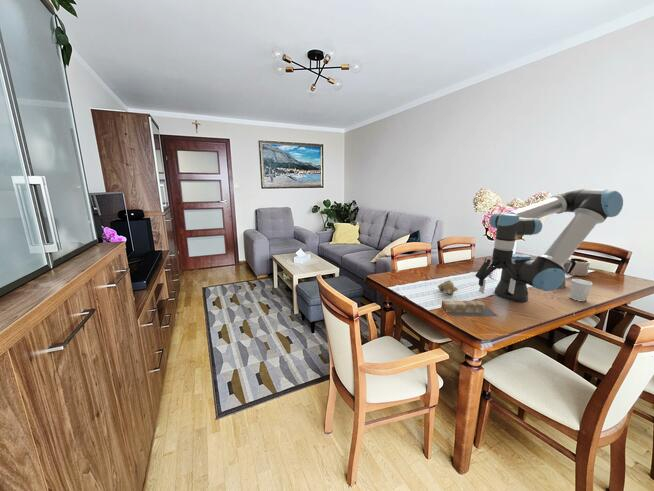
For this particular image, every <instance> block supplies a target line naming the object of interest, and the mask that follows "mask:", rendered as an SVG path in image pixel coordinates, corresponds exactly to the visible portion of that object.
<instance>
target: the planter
mask: <svg viewBox="0 0 654 491" xmlns="http://www.w3.org/2000/svg"><path fill="white" fill-rule="evenodd" d="M568 260H574V261H575V262H576V265H575V266H574V268H573V270H572V271H571V273H569V274H568V275H571V274H574V275H573V276H575V275H578V276H577V277H587V275H588V273H589V269H590V264H591V261H590V260H588V259H584V258H578V257H570V258H569V259H568ZM571 265H572V263H571V264H570V266H569V268H568V270H567V272H568V271H569V269H570V267H571Z"/></svg>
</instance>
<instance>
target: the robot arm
mask: <svg viewBox="0 0 654 491" xmlns="http://www.w3.org/2000/svg"><path fill="white" fill-rule="evenodd" d="M623 207H624V198H623V195H622V194H621V193H620V192H619V191H617V190H612V189H590V188H589V189H587V188H578V189H572V190H568V191H564V192H560V193H557V194H554V195H551V196H550V197H549V198H548V199H546V200H542V201H539V202H537V203H534V204H530V205H527V206H524V207H521V208H518V209H514V210H512V211H510V212H509V211H508V212H506V213H501V212H500V213H498V212H497V213H493V214H492V215H491V216H490V218H489V221H488V223H489V225H490V227H492V228H493V229H496V231H495V238H494V239H495V240H494V244H493V247H494V248H493V250H492V258H488V257H485V258H484V261H483V263H482V265H481V266H480V268H479V269H478V270H477V271H476V272H477V273H476V274H475V278H477V279H478V286H479V291H478V292H479V293H481V294H485V288H486V281H487V280H486V278H487V277H489V276H490V274H491V273H493V272H494V271H496V270H501V271H500V272H501V275H500V280H499V281H498V284H497V285H496V286H495V288H494V292H493V294H494V295H495V296H496V297H498V298H501V299H504V300H507V301H511V302H514V303H515V302H518V303H523V302H527V301H528V299H529V291H528V288H527V287H528V285H529V286H531V287H533V288H535V289H537V290H540V291H544V292H551V291H555V290H556V289H559V286H561V284H562V283H563V282H564V278H565V279H566V273H565V274H564V272H563V271H564V270H565V269H564V264H565V263H566V261H567V260H568V259H569V258H571V256H572V255H573V254H574V253H575V251H576V250H577V249H578V248H579V247H580V245H581V244H582V242H584V240H585V239H586V238H587V236H588V235H589V234H590V233H591V232H592V231H593V229H594V228H595V226H596V225H598V224H602V223H604V222H605V221H606V219H607V218H614V217H617V216H618V215H619V214H620V213H621V212H622V209H623ZM562 213H573V214H574V216H573V217H572V218H571V220H570V221H569V223H568V224H567V225H566V226H565V228H564V229H563V230H562V231H561V233H560V234H559V235H558V236H557V238H556V239H555V240H554V241H553V243H552V244H551V245H550V246H549V248H548V249H547V250H546V251H545V252H544V254H543V255H538V256H537V257H536V258H535V259H534V260H532V259H533V258H532V256H531V255H530V254H529V255H528V254H522V253H514V249H515V242H516V237H517V236H532V235H538V234H539V233H540V232H542V229H543V222H542V221H541V220H540V219H541V218H543V217H544V218H545V217H547V216H550V215H553V214H557V215H558V214H562Z"/></svg>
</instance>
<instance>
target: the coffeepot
mask: <svg viewBox="0 0 654 491" xmlns="http://www.w3.org/2000/svg"><path fill="white" fill-rule="evenodd" d="M571 263H572V265H571V267H570V269H569V271H568V272H567V270H568V268H569V266H570V264H571ZM575 265H576V262H575V261H574V260H567V261H566V263H565V264H564V269H565V270H564V271H563V272H564V274H565V275H566V274H568V273H571V271H572V270H573V268H574V266H575ZM559 287H563V288H566V277H565V278H564V282H563V283H562V284H561V286H559ZM559 287H558V288H559Z"/></svg>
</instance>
